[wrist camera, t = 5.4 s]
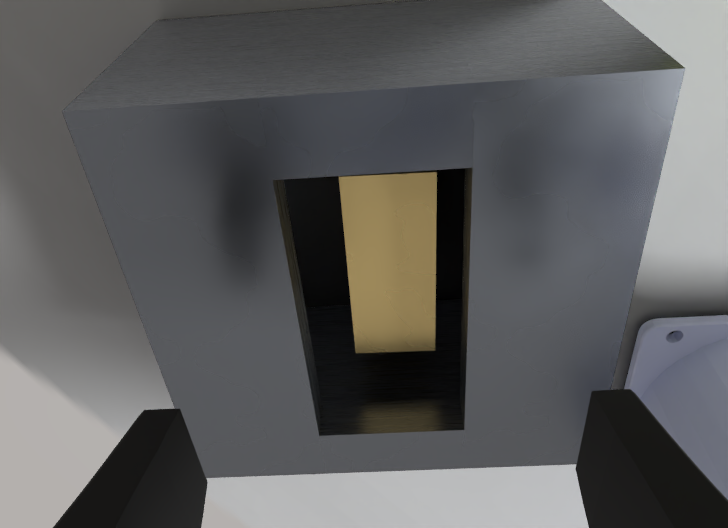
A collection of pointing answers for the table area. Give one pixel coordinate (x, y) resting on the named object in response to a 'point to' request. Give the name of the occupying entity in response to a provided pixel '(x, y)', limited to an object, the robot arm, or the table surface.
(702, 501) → the robot arm
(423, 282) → the block
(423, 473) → the table surface
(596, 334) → the box
